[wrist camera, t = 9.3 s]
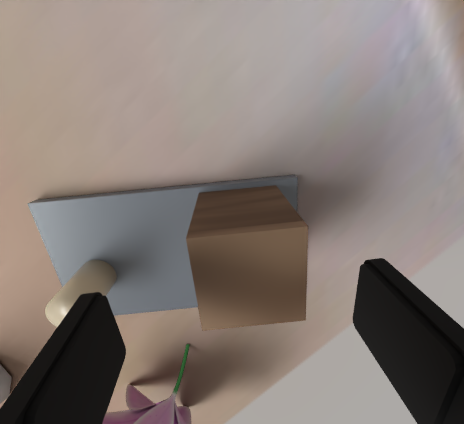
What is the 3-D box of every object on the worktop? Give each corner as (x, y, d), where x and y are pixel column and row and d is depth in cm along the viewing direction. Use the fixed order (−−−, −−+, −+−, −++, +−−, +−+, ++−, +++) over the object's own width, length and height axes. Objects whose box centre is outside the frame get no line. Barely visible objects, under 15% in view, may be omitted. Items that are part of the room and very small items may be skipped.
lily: (91, 330, 23) (24, 480, 17) (181, 321, 17) (128, 546, 11) (180, 360, 30) (155, 473, 24) (265, 360, 24) (261, 511, 18)
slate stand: (35, 199, 17) (-30, 229, 13) (294, 174, 17) (320, 195, 13) (81, 311, 21) (43, 365, 16) (293, 290, 21) (313, 338, 16)
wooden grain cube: (198, 192, 17) (185, 238, 10) (275, 185, 17) (308, 226, 10) (208, 259, 18) (202, 330, 12) (277, 252, 19) (305, 320, 12)
